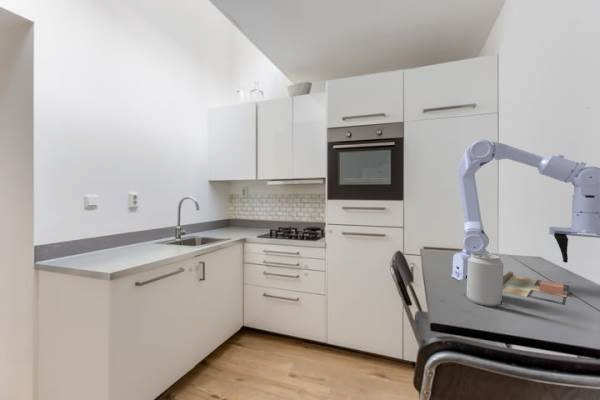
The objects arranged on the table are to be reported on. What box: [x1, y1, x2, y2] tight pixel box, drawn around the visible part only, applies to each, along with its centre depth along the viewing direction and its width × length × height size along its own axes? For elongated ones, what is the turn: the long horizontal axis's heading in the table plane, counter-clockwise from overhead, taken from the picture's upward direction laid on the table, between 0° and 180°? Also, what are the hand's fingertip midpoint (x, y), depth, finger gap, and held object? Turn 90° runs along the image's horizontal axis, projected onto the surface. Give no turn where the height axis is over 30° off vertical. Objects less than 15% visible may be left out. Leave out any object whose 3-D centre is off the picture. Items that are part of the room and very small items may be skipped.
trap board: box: [502, 271, 570, 306], centre depth 78 cm, size 14×22×3 cm, turn 134°
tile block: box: [539, 279, 565, 295], centre depth 75 cm, size 4×4×2 cm
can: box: [466, 253, 504, 307], centre depth 70 cm, size 8×8×12 cm
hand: (585, 264), depth 73 cm, fingers open, 7 cm apart
